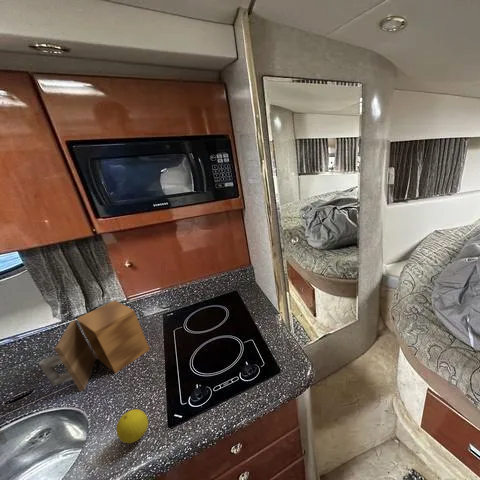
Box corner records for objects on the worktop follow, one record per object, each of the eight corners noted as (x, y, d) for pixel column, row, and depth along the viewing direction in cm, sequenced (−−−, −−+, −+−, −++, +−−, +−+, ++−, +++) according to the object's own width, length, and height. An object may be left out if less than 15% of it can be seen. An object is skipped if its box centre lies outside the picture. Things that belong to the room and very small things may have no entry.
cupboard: (115, 373, 74) (94, 331, 68) (97, 358, 80) (76, 318, 74) (150, 349, 82) (134, 310, 76) (131, 337, 88) (114, 300, 81)
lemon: (150, 419, 61) (139, 397, 58) (154, 437, 57) (143, 414, 54) (122, 436, 58) (109, 414, 55) (125, 457, 54) (112, 434, 51)
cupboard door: (56, 400, 67) (27, 357, 61) (72, 367, 77) (48, 327, 71) (84, 389, 69) (59, 347, 63) (96, 359, 79) (75, 319, 73)
